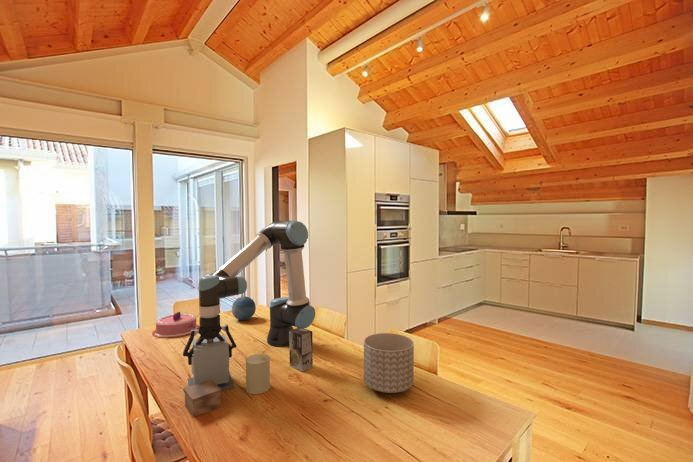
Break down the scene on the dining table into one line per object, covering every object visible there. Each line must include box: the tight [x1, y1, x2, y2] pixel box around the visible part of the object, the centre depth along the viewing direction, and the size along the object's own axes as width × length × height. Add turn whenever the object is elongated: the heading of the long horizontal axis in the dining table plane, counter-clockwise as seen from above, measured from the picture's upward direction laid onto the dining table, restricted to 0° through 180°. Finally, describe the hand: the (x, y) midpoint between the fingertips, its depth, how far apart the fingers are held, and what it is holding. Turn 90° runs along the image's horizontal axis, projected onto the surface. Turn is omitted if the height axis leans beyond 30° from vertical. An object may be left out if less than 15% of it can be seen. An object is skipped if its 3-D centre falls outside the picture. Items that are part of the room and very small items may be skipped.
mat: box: [187, 371, 236, 391], centre depth 132 cm, size 16×16×1 cm
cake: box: [151, 311, 200, 339], centre depth 195 cm, size 25×25×11 cm
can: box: [245, 353, 271, 395], centre depth 128 cm, size 9×9×12 cm
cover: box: [192, 334, 230, 385], centre depth 132 cm, size 12×12×16 cm
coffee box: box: [288, 327, 314, 372], centre depth 147 cm, size 9×6×16 cm
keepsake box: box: [183, 380, 223, 418], centre depth 116 cm, size 10×10×6 cm
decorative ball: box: [231, 296, 257, 321], centre depth 215 cm, size 15×15×15 cm
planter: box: [363, 332, 415, 394], centre depth 129 cm, size 19×19×18 cm
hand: (210, 368), depth 132 cm, fingers closed on cover, 12 cm apart
